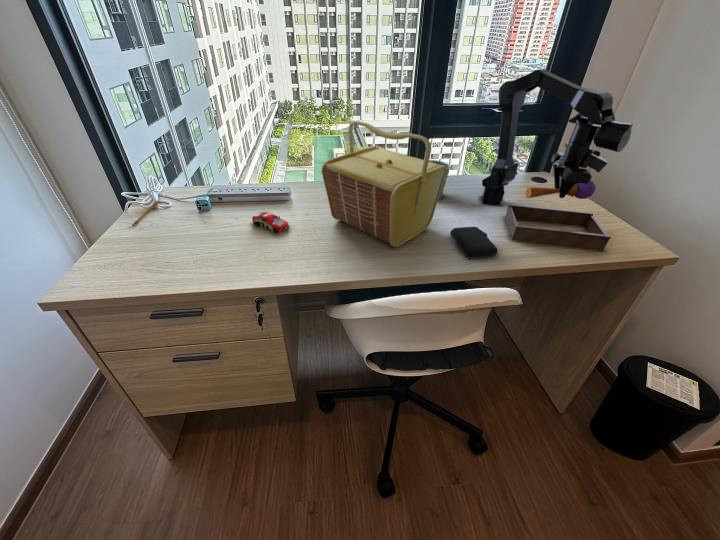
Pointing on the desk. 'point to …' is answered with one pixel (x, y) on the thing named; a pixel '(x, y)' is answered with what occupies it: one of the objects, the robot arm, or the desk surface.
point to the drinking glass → (446, 173)
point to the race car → (270, 222)
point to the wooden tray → (590, 240)
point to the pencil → (145, 213)
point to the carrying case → (473, 242)
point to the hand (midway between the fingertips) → (558, 194)
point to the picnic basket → (383, 188)
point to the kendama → (577, 190)
